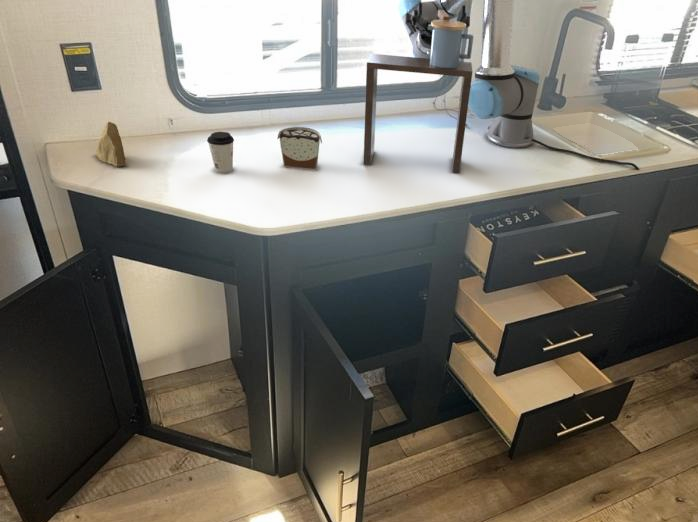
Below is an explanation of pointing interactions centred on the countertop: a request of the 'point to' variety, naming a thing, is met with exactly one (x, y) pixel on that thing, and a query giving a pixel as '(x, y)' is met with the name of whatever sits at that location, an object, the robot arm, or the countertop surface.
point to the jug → (448, 47)
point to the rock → (111, 146)
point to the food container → (300, 147)
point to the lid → (447, 22)
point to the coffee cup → (221, 151)
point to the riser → (418, 67)
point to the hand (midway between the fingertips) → (442, 9)
